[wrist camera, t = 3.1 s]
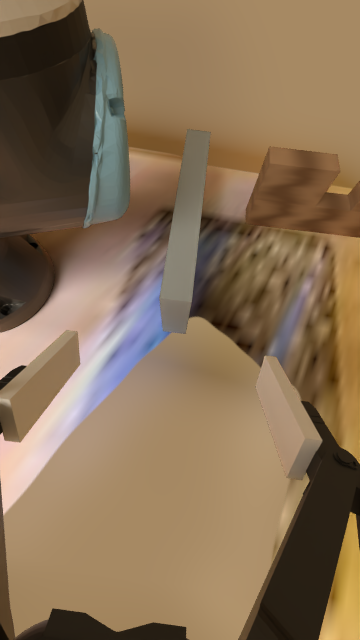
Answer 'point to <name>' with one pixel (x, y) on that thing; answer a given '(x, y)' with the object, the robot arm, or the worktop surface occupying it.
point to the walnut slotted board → (303, 194)
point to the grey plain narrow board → (184, 234)
